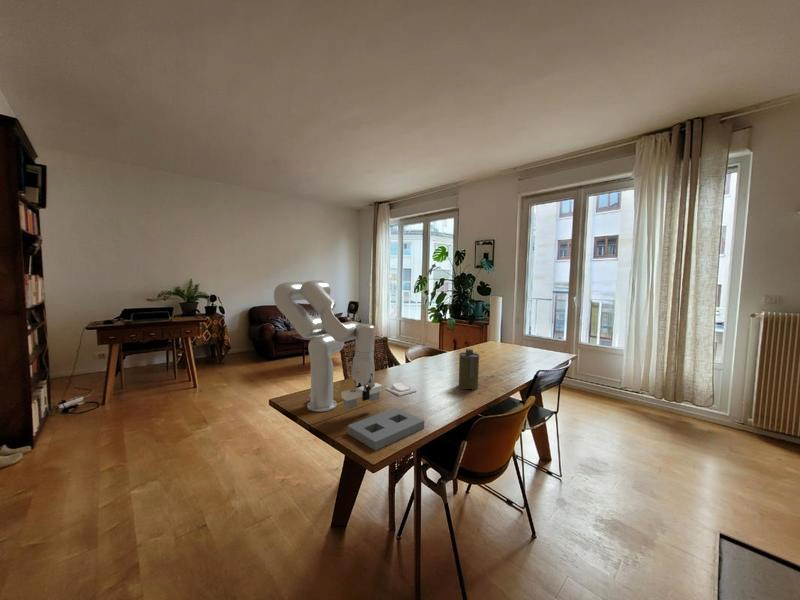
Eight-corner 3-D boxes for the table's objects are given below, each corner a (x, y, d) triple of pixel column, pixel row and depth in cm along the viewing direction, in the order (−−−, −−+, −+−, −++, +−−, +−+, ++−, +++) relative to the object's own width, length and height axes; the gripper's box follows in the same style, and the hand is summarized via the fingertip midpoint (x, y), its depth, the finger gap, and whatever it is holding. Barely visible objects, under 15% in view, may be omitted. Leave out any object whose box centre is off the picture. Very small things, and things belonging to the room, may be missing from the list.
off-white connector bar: (340, 406, 128) (341, 391, 128) (375, 396, 141) (376, 382, 140) (346, 409, 126) (347, 394, 125) (381, 399, 138) (382, 384, 138)
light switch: (401, 379, 172) (416, 385, 162) (401, 387, 172) (416, 393, 162) (384, 383, 166) (399, 389, 156) (384, 391, 166) (399, 397, 156)
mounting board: (347, 433, 118) (347, 425, 118) (395, 414, 134) (395, 407, 134) (375, 450, 106) (375, 441, 106) (424, 428, 123) (424, 420, 123)
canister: (456, 383, 176) (457, 347, 175) (475, 383, 177) (476, 347, 175) (461, 390, 165) (462, 352, 164) (481, 390, 166) (482, 352, 165)
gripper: (345, 351, 135) (343, 393, 137) (370, 360, 123) (367, 407, 125) (359, 349, 140) (357, 390, 142) (384, 358, 128) (382, 402, 130)
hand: (362, 397), depth 133 cm, fingers closed on off-white connector bar, 4 cm apart
